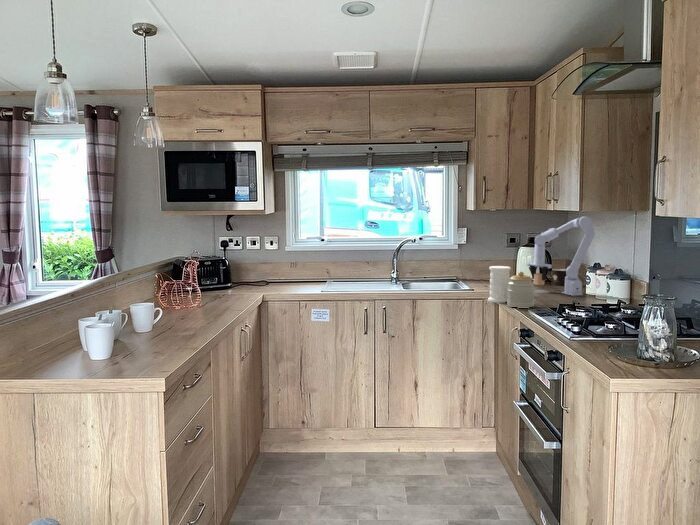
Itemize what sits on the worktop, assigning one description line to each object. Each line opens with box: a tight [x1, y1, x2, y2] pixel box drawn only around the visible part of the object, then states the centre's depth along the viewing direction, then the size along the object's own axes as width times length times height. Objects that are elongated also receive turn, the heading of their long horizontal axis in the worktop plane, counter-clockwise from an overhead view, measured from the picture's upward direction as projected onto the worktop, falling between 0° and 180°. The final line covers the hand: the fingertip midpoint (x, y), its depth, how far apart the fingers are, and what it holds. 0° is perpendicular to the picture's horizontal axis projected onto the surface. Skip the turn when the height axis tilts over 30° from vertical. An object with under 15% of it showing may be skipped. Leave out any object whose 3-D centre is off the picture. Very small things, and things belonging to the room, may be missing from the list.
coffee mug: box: [549, 268, 567, 287], centre depth 337 cm, size 12×9×10 cm
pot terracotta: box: [533, 272, 545, 286], centre depth 312 cm, size 6×6×6 cm
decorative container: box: [487, 265, 511, 304], centre depth 287 cm, size 12×12×18 cm
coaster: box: [534, 289, 552, 295], centre depth 312 cm, size 10×10×1 cm
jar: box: [506, 271, 535, 308], centre depth 271 cm, size 13×13×18 cm
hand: (538, 279), depth 312 cm, fingers closed on pot terracotta, 5 cm apart
